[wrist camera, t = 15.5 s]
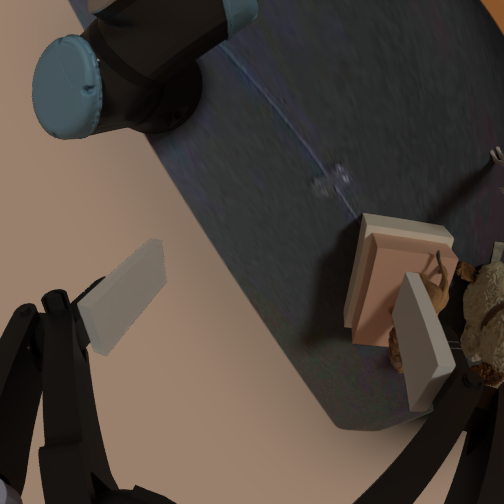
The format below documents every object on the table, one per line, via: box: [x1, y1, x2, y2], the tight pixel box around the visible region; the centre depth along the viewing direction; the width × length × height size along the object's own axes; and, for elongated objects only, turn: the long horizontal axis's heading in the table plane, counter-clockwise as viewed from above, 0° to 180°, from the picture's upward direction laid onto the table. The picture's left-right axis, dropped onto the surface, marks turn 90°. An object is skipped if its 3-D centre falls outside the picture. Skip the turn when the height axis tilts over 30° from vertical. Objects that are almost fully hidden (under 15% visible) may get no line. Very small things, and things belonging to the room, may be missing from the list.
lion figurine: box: [388, 250, 449, 373], centre depth 34 cm, size 15×5×9 cm, turn 168°
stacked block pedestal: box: [344, 213, 458, 347], centre depth 43 cm, size 14×18×10 cm
